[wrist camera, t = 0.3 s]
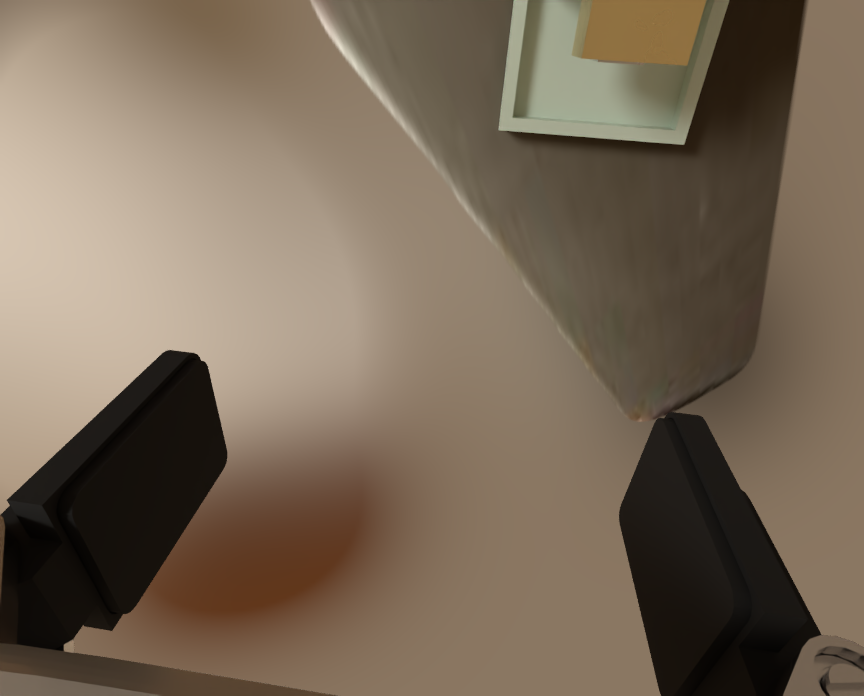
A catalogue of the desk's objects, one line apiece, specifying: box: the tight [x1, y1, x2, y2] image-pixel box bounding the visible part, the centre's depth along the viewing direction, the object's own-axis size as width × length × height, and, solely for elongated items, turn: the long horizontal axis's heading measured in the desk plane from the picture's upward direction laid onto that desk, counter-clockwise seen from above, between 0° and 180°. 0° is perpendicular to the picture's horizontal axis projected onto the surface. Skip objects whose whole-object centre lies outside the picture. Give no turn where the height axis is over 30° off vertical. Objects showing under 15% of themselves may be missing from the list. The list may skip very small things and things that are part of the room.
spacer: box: [572, 0, 706, 66], centre depth 25 cm, size 3×5×4 cm
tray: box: [499, 0, 729, 145], centre depth 31 cm, size 8×12×2 cm, turn 87°
